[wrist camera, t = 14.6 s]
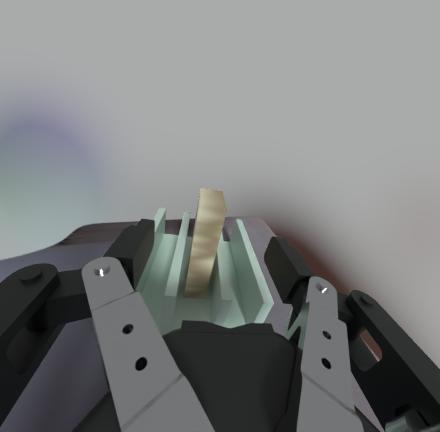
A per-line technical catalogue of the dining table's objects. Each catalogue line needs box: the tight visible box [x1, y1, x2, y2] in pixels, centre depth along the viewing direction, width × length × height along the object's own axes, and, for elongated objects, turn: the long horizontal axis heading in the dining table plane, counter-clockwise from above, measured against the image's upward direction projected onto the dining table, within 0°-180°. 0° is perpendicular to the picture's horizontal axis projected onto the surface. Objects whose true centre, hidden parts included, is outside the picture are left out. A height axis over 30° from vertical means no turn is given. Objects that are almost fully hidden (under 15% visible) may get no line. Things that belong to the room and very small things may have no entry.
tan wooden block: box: [184, 188, 227, 299], centre depth 20 cm, size 2×5×12 cm, turn 4°
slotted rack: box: [135, 208, 274, 335], centre depth 23 cm, size 14×16×6 cm
